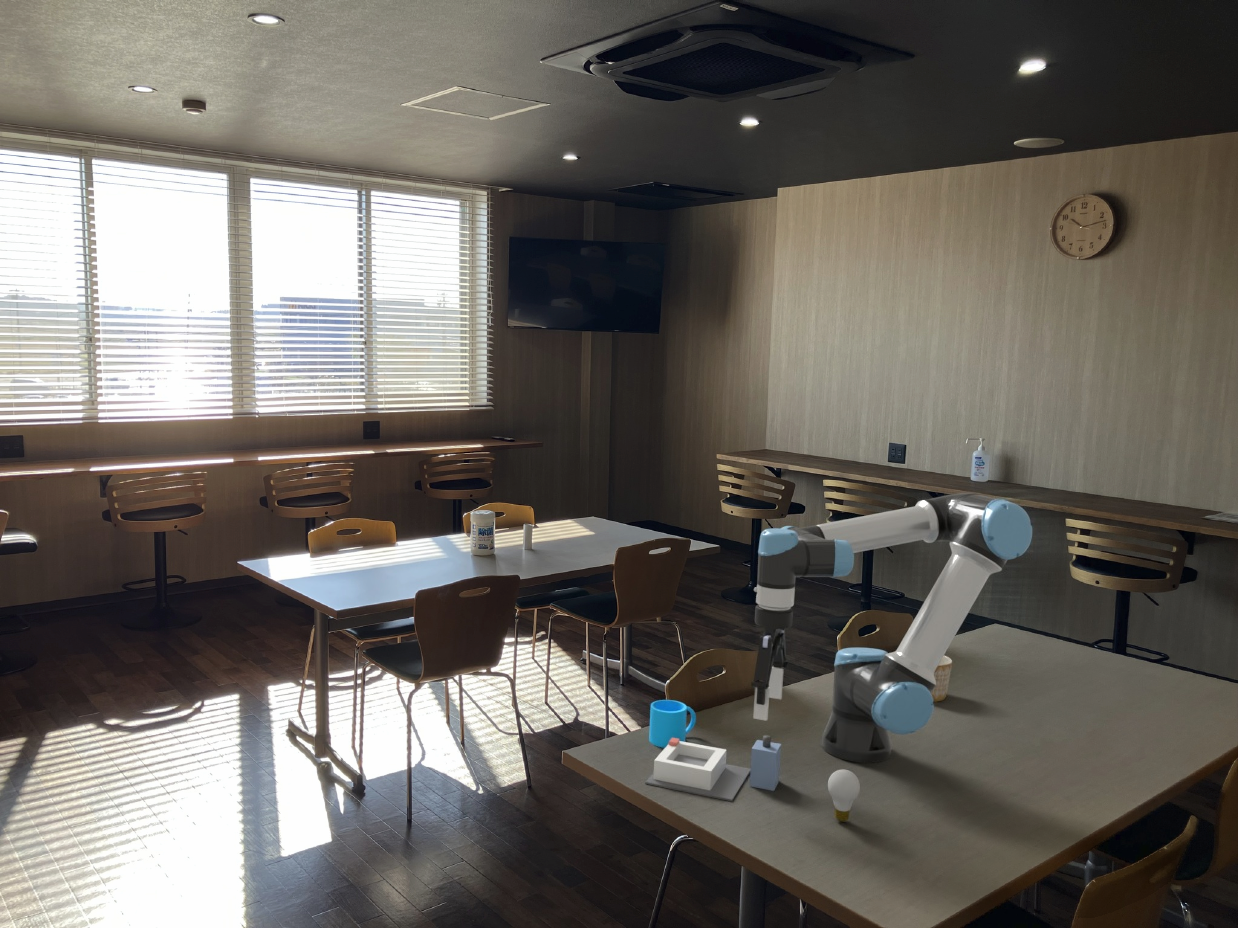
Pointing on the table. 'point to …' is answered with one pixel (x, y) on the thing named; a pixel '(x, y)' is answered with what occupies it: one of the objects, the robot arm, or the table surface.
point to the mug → (669, 722)
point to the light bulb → (843, 792)
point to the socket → (697, 770)
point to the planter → (941, 679)
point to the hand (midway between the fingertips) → (767, 708)
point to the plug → (765, 764)
